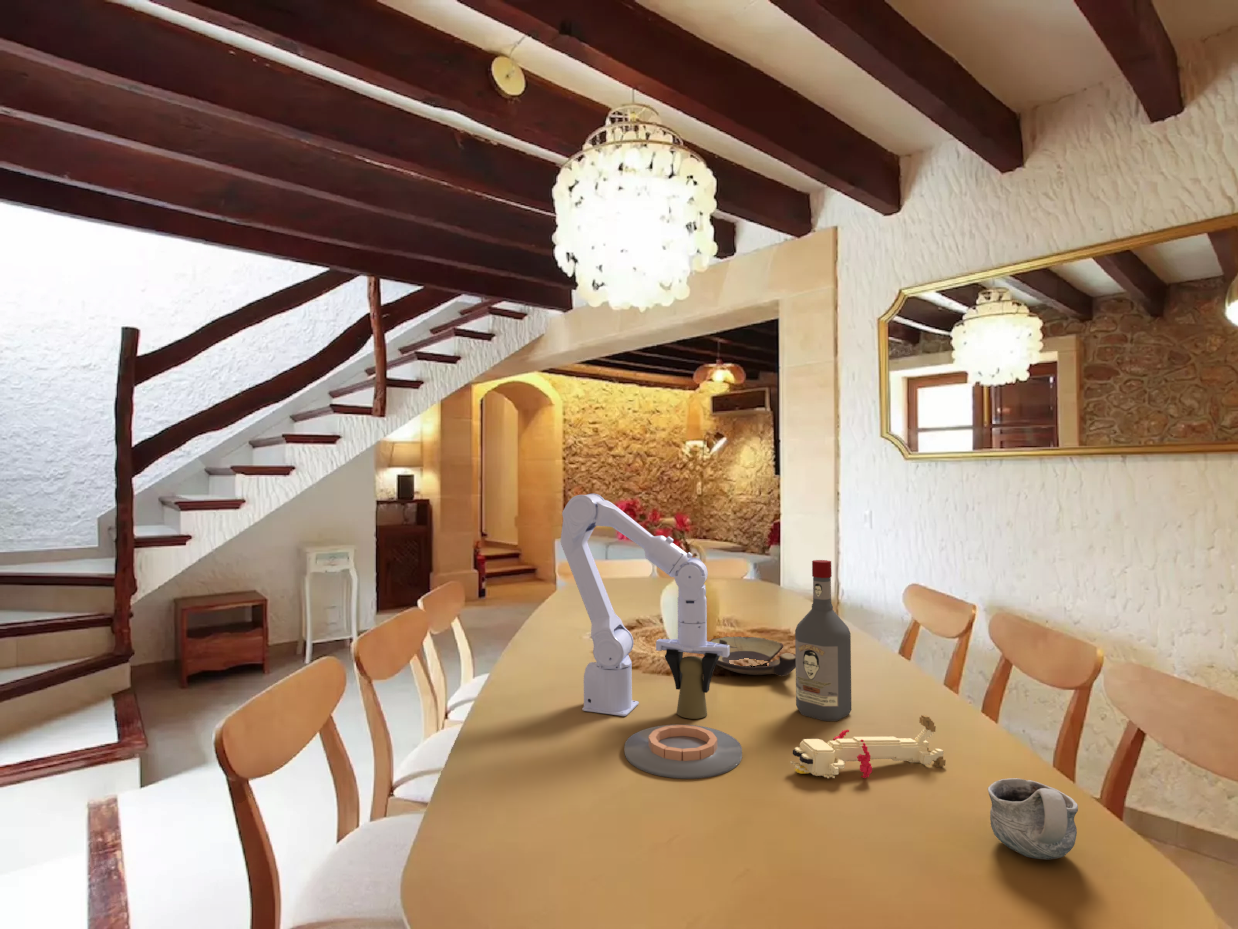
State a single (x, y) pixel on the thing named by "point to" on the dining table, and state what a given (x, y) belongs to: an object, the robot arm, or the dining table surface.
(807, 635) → the liquor
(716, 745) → the ring platter
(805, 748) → the cream toy figure
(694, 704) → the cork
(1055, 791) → the mug
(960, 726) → the dining table surface
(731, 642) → the oil lamp
